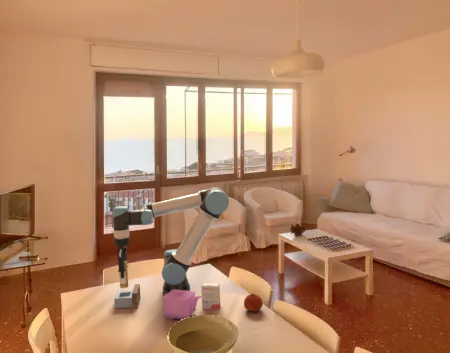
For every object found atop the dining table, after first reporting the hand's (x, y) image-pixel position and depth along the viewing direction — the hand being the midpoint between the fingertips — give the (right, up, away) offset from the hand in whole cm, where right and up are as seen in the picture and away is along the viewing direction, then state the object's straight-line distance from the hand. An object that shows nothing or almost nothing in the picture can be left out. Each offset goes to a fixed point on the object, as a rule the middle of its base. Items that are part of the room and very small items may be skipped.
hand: (123, 281), depth 189 cm
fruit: (+65, -12, -9) cm, 67 cm away
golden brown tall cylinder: (0, -3, 0) cm, 3 cm away
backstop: (+6, -12, +2) cm, 13 cm away
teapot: (+32, -13, -14) cm, 37 cm away
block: (0, -12, +1) cm, 12 cm away
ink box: (+45, -12, -4) cm, 47 cm away
